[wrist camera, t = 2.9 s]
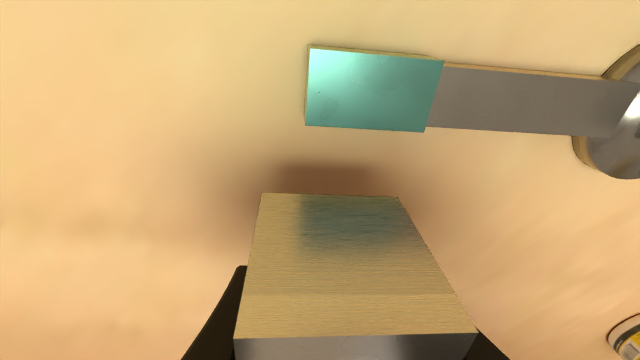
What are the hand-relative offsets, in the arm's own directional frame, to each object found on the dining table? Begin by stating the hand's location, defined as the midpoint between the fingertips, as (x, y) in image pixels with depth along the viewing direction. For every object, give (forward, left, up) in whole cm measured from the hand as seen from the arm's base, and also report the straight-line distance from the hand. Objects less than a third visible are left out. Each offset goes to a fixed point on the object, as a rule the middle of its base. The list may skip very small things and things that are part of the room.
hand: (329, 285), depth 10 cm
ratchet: (+6, -9, -6) cm, 12 cm away
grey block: (0, 0, -2) cm, 2 cm away
